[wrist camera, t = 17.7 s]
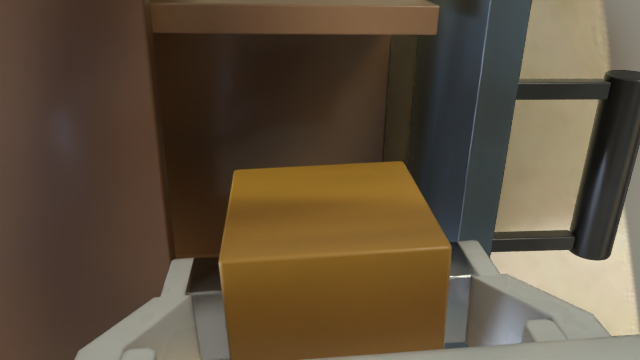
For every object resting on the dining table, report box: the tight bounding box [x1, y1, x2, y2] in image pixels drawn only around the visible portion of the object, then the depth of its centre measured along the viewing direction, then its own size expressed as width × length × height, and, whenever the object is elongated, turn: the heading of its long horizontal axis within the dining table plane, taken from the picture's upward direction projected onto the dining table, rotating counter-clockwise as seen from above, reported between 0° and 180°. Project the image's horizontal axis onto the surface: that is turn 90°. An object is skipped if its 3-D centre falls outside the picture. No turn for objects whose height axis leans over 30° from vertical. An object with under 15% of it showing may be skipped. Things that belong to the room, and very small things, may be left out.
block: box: [218, 161, 452, 360], centre depth 13 cm, size 4×4×4 cm
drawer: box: [150, 0, 640, 360], centre depth 21 cm, size 20×13×7 cm
